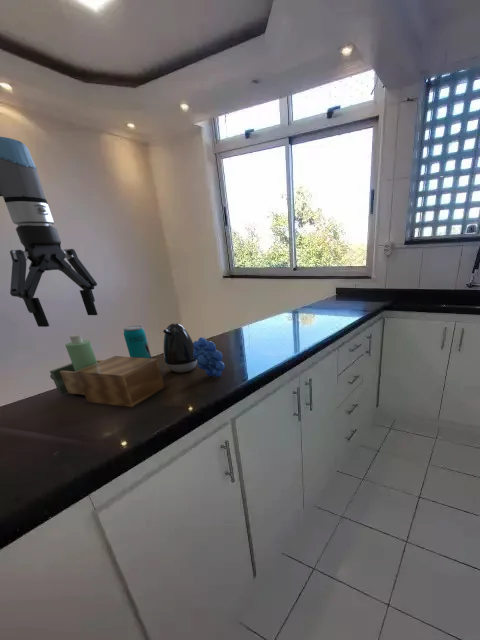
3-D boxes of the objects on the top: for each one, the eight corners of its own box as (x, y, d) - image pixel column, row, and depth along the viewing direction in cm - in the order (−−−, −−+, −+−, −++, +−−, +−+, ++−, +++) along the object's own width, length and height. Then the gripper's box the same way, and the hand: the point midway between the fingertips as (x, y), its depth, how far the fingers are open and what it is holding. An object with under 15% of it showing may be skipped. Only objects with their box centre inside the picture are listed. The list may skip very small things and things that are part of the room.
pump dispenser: (160, 374, 98) (148, 326, 91) (179, 363, 107) (169, 319, 100) (188, 376, 96) (178, 327, 89) (205, 365, 105) (197, 319, 98)
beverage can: (156, 375, 98) (144, 327, 91) (136, 379, 95) (122, 330, 89) (154, 369, 102) (142, 324, 96) (135, 373, 100) (121, 327, 93)
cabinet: (87, 401, 82) (75, 371, 78) (123, 383, 93) (115, 355, 89) (131, 407, 78) (121, 375, 74) (164, 387, 89) (157, 358, 85)
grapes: (187, 378, 95) (179, 339, 89) (203, 370, 100) (196, 334, 95) (215, 384, 89) (208, 343, 84) (231, 376, 95) (225, 337, 89)
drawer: (47, 392, 86) (37, 369, 83) (84, 377, 96) (76, 356, 93) (97, 398, 81) (88, 374, 78) (130, 382, 91) (123, 360, 88)
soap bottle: (76, 387, 86) (56, 337, 80) (93, 379, 91) (76, 332, 85) (91, 389, 84) (73, 338, 78) (108, 381, 89) (92, 333, 83)
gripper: (-18, 221, 59) (30, 332, 68) (95, 227, 80) (119, 311, 89) (-43, 224, 61) (6, 331, 70) (73, 229, 82) (99, 311, 91)
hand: (70, 320), depth 80 cm, fingers open, 13 cm apart
